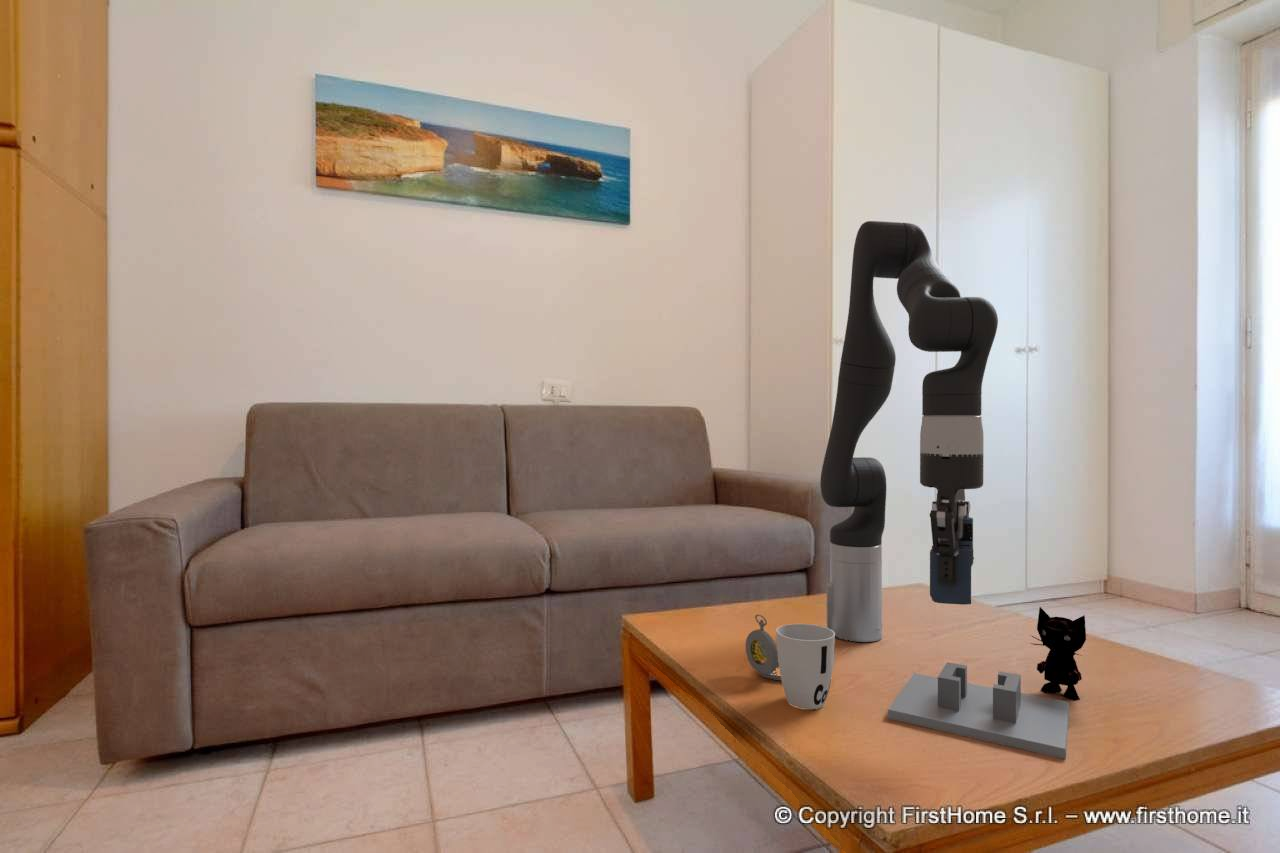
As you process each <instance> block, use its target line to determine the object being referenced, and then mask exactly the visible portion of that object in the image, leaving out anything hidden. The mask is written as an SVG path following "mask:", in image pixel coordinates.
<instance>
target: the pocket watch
mask: <svg viewBox="0 0 1280 853" xmlns="http://www.w3.org/2000/svg"><path fill="white" fill-rule="evenodd" d="M757 617H761V618H762V619H760V621H759V620H758V618H757ZM754 619H755V621H756V622H757V623H758V625H759V627H760V628H757V629H754V630H752V631H750V632H749V634H748V635H747V637H746V638H745V639H746V640H745V654H746V656H747V660H748V662H749V665H750V666H751V667H752V668H753V670H754V671H755V672H757V673H758V674H759V675H760V676H761V677H764V678H767V679H769V680H774V681H776V680H778V681H782V680H781V676H777V674H776V673H777V672H775V673H773V671H776V668H778V667H779V662H778V652H777V644H776V643H775V640H774V639H773V638H772V636H771V634H770V633H769V632H768V631H766V630H765V629H764V627H765V626H766V625H768V624H767V623H768V622H767V619H766V618H765V617H764V616H763V615H761V614H756V615H755V616H754ZM762 660H763V661H764V662H762ZM778 669H779V668H778ZM771 674H773V675H771ZM774 674H776V675H774Z"/></svg>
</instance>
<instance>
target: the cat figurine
mask: <svg viewBox="0 0 1280 853" xmlns="http://www.w3.org/2000/svg"><path fill="white" fill-rule="evenodd" d="M1037 618H1038V619H1037V624H1036V626H1037V627H1036V630H1037V632H1038V635H1039V637H1040V638H1037V637H1035V636H1034V635H1031V637H1032V638H1033V639H1036V640H1037V641H1040V642H1042V643H1032V642H1030V643H1029V644H1030V645H1035V646H1044V647H1046V648H1047V649H1049V652H1048V654H1047V656H1046V658H1045V660H1042V661H1040V662H1038V663H1037V665H1036V670H1037V671H1038V673H1040V674H1041V675H1042V674H1043V673H1044V675H1043V676H1044V677H1043V678H1044V680H1045V681H1048V682H1046V683H1044V684H1043V685H1042V687H1040V692H1042V693H1044V694H1050V695H1051V694H1053V695H1054V694H1055V695H1056V694H1058V693H1061V692H1062V688H1061V685H1062V686H1065V687H1066V686H1067V687H1066V689H1065V690H1064V693H1063V695H1062V697H1064V699H1067V700H1070V701H1080V700H1081V698H1080V696H1079V695H1078V692H1077V690H1076V688H1075V685H1078V683H1079V681H1082V680H1083V678H1082V673H1081V671H1079V668H1078V665H1077V661H1076V660H1075V657H1074V656H1075V655H1077V656H1082V657H1083V655H1082V654H1079V653H1076V652H1078V651H1079V650H1081V649H1082V648H1083V647H1084V644H1085V643H1086V641H1087V631H1086V630H1087V629H1086V615H1081V616H1080V617H1078V618H1076V619H1074V620H1072V619H1071V618H1066V617H1062V616H1053V617H1051V616H1049V614H1048V613H1047V612H1046V611H1045V610H1044V609H1043V608H1042V607H1041V606H1039V610H1038V617H1037Z"/></svg>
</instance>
